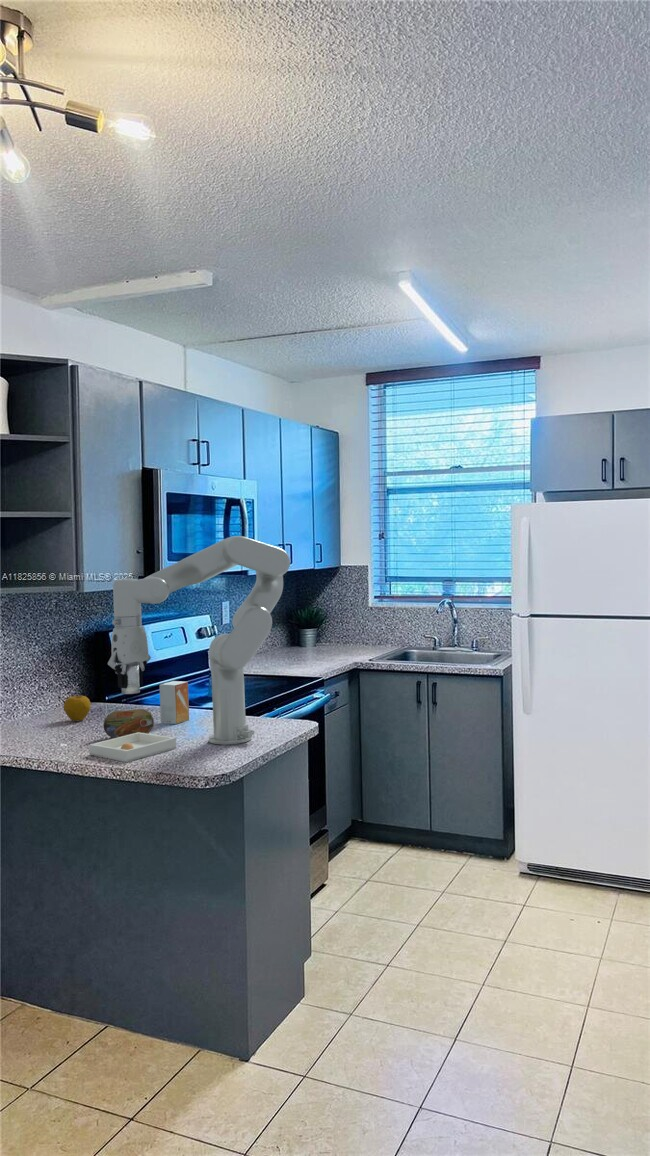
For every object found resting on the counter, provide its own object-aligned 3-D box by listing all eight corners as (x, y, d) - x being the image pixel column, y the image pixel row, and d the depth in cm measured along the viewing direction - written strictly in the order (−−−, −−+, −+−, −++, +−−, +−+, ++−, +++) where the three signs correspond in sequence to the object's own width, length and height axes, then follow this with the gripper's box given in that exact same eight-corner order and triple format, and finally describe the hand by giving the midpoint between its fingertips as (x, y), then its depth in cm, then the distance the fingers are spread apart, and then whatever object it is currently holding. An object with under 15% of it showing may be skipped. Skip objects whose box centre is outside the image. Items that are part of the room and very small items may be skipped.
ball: (136, 755, 232) (136, 742, 232) (126, 758, 229) (126, 745, 229) (128, 753, 234) (127, 741, 234) (118, 756, 231) (117, 743, 231)
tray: (176, 748, 242) (176, 737, 242) (127, 762, 227) (127, 751, 227) (139, 742, 251) (138, 732, 251) (89, 755, 237) (89, 744, 237)
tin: (104, 739, 257) (102, 712, 256) (104, 737, 260) (103, 710, 260) (154, 735, 260) (153, 708, 259) (154, 733, 263) (153, 707, 262)
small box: (176, 724, 276) (175, 685, 275) (160, 723, 278) (158, 684, 278) (190, 719, 283) (188, 681, 283) (174, 718, 286) (172, 680, 285)
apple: (74, 724, 281) (73, 697, 281) (58, 722, 287) (57, 695, 286) (96, 719, 288) (95, 693, 288) (80, 717, 294) (79, 691, 294)
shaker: (144, 691, 239) (142, 660, 239) (129, 694, 235) (128, 662, 235) (132, 690, 242) (130, 659, 242) (117, 693, 238) (116, 661, 238)
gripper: (112, 625, 229) (115, 692, 230) (159, 620, 243) (162, 682, 243) (95, 624, 233) (97, 690, 234) (142, 619, 247) (144, 681, 248)
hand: (130, 685), depth 239 cm, fingers closed on shaker, 5 cm apart
